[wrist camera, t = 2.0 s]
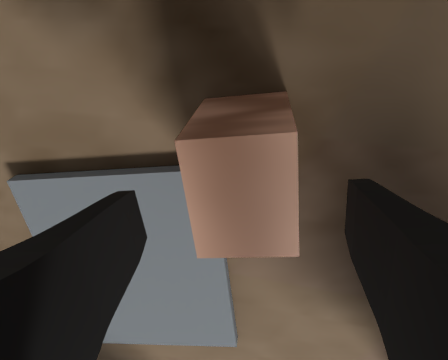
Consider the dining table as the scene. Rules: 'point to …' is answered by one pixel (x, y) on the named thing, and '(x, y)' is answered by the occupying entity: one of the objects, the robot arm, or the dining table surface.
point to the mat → (145, 255)
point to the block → (242, 176)
